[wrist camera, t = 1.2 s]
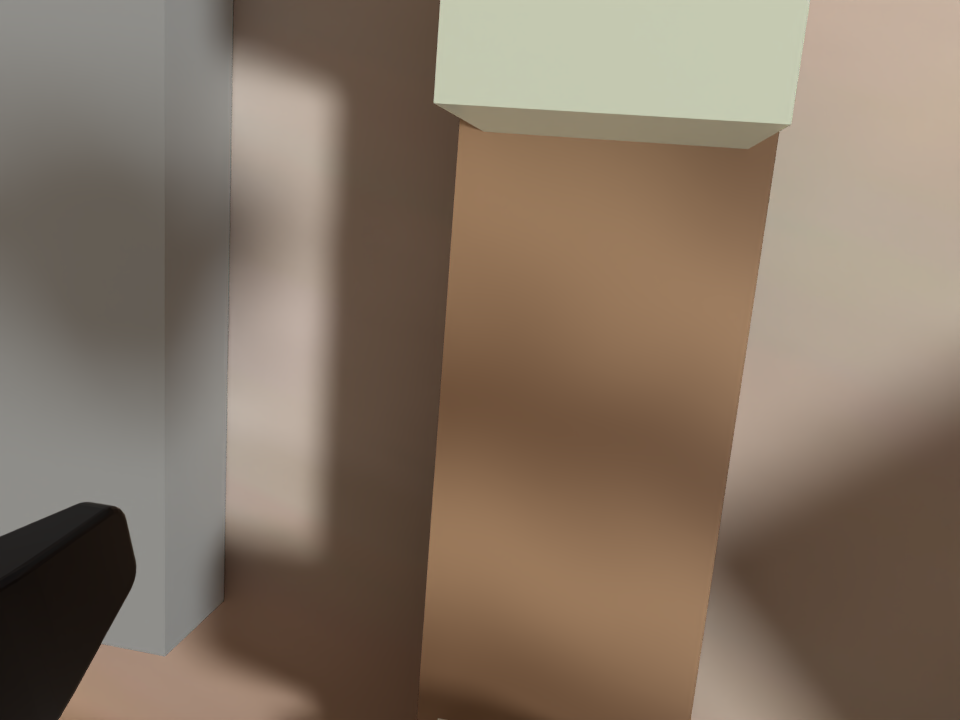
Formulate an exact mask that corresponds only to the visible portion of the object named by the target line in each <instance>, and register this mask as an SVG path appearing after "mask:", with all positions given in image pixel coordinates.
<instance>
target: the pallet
mask: <svg viewBox="0 0 960 720" xmlns="http://www.w3.org/2000/svg"><path fill="white" fill-rule="evenodd" d="M778 137H779V132H777V133H775V134H774V135H772V136H770V137H768V138H767V139H765V140H763V141H761V142H760V143H758V144H756V145H754V146H753V147H751V148H749V149H740V148H725V147H710V146H694V145H679V144H664V143H649V142H633V141H618V140H603V139H588V138H572V137H557V136H542V135H527V134H511V133H496V132H484V131H482V130H480V129H478V128H477V127H475V126H473V125H471V124H470V123H468V122H466V121H464V120H462V119H461V118H460V123H459V137H458V151H457V165H456V179H455V193H454V207H453V221H452V235H451V249H450V262H449V276H448V290H447V304H446V318H445V332H444V346H443V360H442V374H441V388H440V401H439V415H438V429H437V443H436V457H435V471H434V485H433V499H432V513H431V527H430V540H429V554H428V568H427V582H426V596H425V610H424V624H423V638H422V652H421V666H420V679H419V693H418V707H417V720H438V718H439V719H444V720H691V713H692V707H693V700H694V693H695V687H696V680H697V673H698V667H699V660H700V654H701V647H702V640H703V634H704V627H705V620H706V614H707V607H708V601H709V594H710V587H711V581H712V574H713V567H714V561H715V554H716V548H717V541H718V534H719V528H720V521H721V514H722V508H723V501H724V495H725V488H726V481H727V475H728V468H729V461H730V455H731V448H732V441H733V435H734V428H735V422H736V415H737V408H738V402H739V395H740V388H741V382H742V375H743V369H744V362H745V355H746V349H747V342H748V335H749V329H750V322H751V316H752V309H753V302H754V296H755V289H756V282H757V276H758V269H759V263H760V256H761V249H762V243H763V236H764V229H765V223H766V216H767V210H768V203H769V196H770V190H771V183H772V176H773V170H774V163H775V156H776V150H777V143H778Z"/></svg>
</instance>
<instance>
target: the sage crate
mask: <svg viewBox="0 0 960 720" xmlns="http://www.w3.org/2000/svg"><path fill="white" fill-rule="evenodd" d="M809 5H810V0H440V12H439V27H438V43H437V58H436V73H435V89H434V104H436V105H438V106H440V107H441V108H443V109H445V110H447V111H448V112H450V113H452V114H454V115H455V116H457V117H459V118H461V119H462V120H464V121H466V122H468V123H470V124H471V125H473V126H475V127H477V128H478V129H480V130H482V131H484V132H496V133H511V134H527V135H542V136H557V137H572V138H588V139H603V140H618V141H633V142H649V143H664V144H679V145H694V146H710V147H725V148H740V149H749V148H751V147H753V146H754V145H756V144H758V143H760V142H761V141H763V140H765V139H767V138H768V137H770V136H772V135H774V134H775V133H777V132H779V131H781V130H782V129H784V128H786V127H788V126H789V125H791V122H792V115H793V109H794V102H795V96H796V89H797V83H798V76H799V70H800V63H801V57H802V50H803V44H804V37H805V31H806V24H807V18H808V11H809Z"/></svg>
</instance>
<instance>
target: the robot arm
mask: <svg viewBox="0 0 960 720" xmlns="http://www.w3.org/2000/svg"><path fill="white" fill-rule="evenodd" d="M135 576H136V559H135V555H134V551H133V546H132V542H131V537H130V533H129V528H128V524H127V520H126V516H125V514H124V513H123V511H122V510H121V509H120V508H118V507H116V506H112V505H106V504H100V503H94V502H81V503H78V504H75V505H73V506H71V507H68V508H66V509H64V510H61V511H59V512H57V513H54V514H52V515H49V516H47V517H45V518H42V519H40V520H38V521H35V522H33V523H31V524H28V525H26V526H23V527H21V528H19V529H16V530H14V531H12V532H9V533H7V534H5V535H2V536H0V720H58V719H59V718H60V716H61V715H62V713H63V711H64V709H65V708H66V706H67V704H68V703H69V701H70V699H71V698H72V696H73V694H74V692H75V691H76V689H77V687H78V685H79V683H80V681H81V680H82V678H83V676H84V674H85V672H86V671H87V669H88V667H89V665H90V663H91V661H92V660H93V658H94V656H95V654H96V652H97V651H98V649H99V647H100V645H101V643H102V641H103V640H104V638H105V636H106V634H107V632H108V630H109V629H110V627H111V625H112V623H113V621H114V620H115V618H116V616H117V614H118V612H119V610H120V609H121V607H122V605H123V603H124V601H125V600H126V598H127V596H128V594H129V592H130V590H131V588H132V586H133V583H134V581H135Z"/></svg>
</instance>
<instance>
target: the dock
mask: <svg viewBox="0 0 960 720" xmlns="http://www.w3.org/2000/svg"><path fill="white" fill-rule="evenodd" d="M232 53H233V0H0V536H2V535H5V534H7V533H9V532H12V531H14V530H16V529H19V528H21V527H23V526H26V525H28V524H31V523H33V522H35V521H38V520H40V519H42V518H45V517H47V516H49V515H52V514H54V513H57V512H59V511H61V510H64V509H66V508H68V507H71V506H73V505H75V504H78V503H81V502H94V503H100V504H106V505H112V506H116V507H118V508H120V509H121V510H122V511H123V513H124V514H125V516H126V520H127V524H128V528H129V533H130V537H131V542H132V546H133V551H134V555H135V559H136V576H135V581H134V583H133V586H132V588H131V590H130V592H129V594H128V596H127V598H126V600H125V601H124V603H123V605H122V607H121V609H120V610H119V612H118V614H117V616H116V618H115V620H114V621H113V623H112V625H111V627H110V629H109V630H108V632H107V634H106V636H105V638H104V640H103V641H102V643H101V644H105V645H110V646H115V647H120V648H125V649H130V650H135V651H140V652H145V653H150V654H155V655H160V656H166V655H167V654H168V653H169V652H170V651H171V650H172V649H173V648H174V647H175V646H177V645H178V644H179V643H180V642H181V641H182V640H183V639H184V638H185V637H186V636H187V635H188V634H189V633H190V632H191V631H192V630H193V629H195V628H196V627H197V626H198V625H199V624H200V623H201V622H202V621H203V620H204V619H205V618H206V617H207V616H208V615H209V614H210V613H211V612H213V611H214V610H215V609H216V608H217V607H218V606H219V605H220V604H221V603H222V602H223V601H224V558H225V495H226V432H227V369H228V306H229V242H230V179H231V116H232Z"/></svg>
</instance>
